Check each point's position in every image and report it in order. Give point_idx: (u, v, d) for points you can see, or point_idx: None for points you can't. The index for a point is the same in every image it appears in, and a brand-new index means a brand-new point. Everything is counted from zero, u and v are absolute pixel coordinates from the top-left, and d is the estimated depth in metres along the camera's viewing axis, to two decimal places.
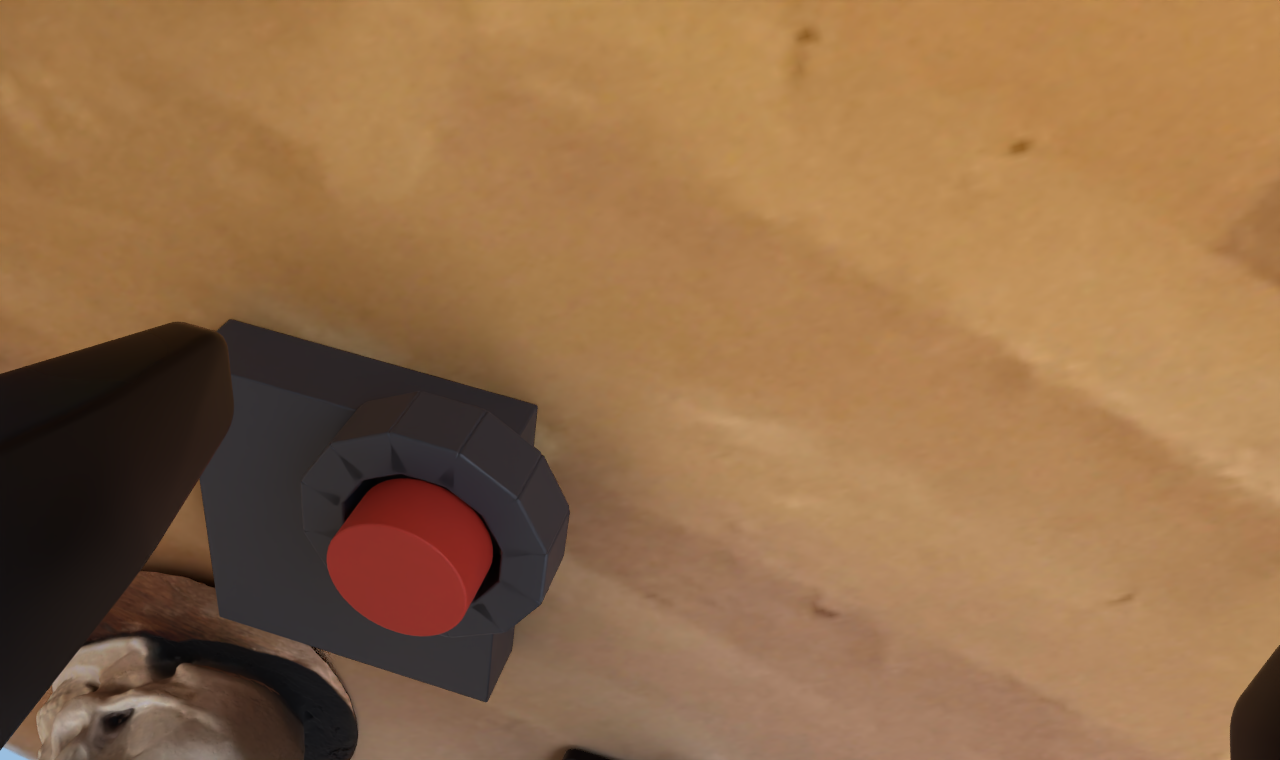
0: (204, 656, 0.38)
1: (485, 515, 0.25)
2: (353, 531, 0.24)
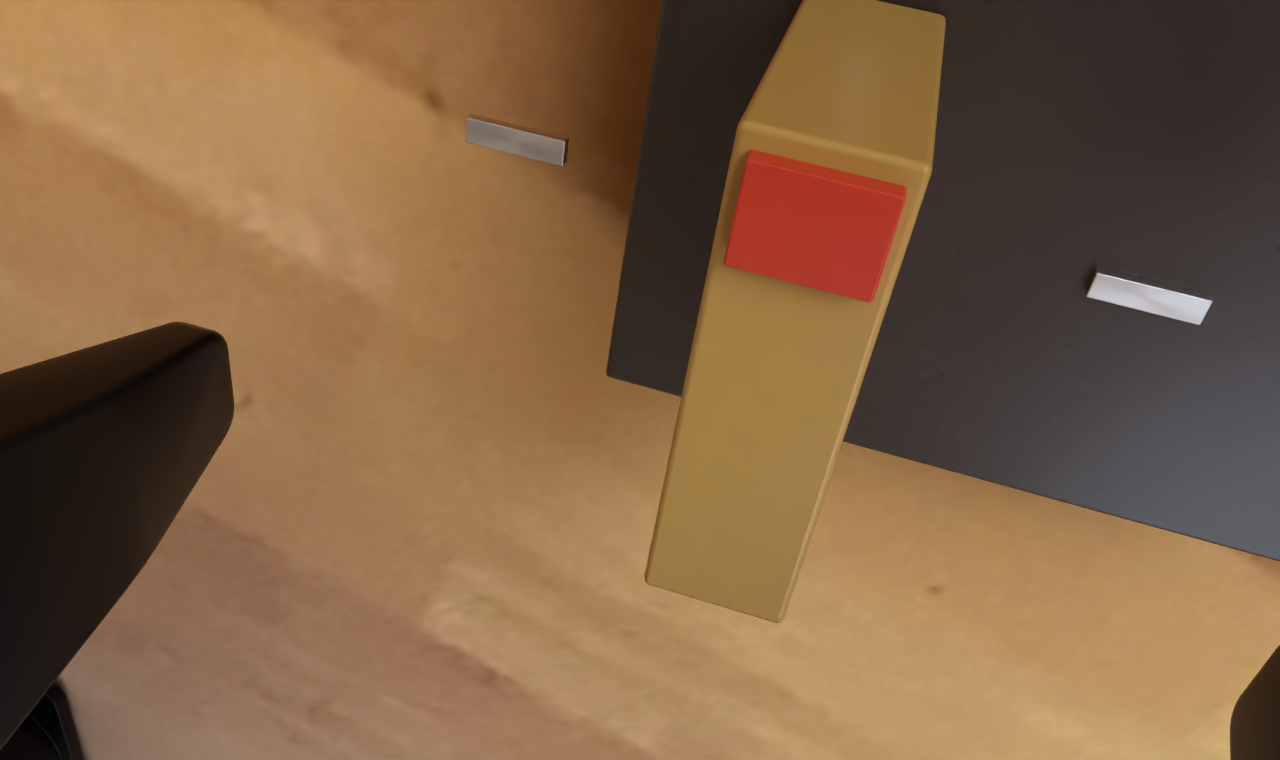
0: None
1: None
2: None
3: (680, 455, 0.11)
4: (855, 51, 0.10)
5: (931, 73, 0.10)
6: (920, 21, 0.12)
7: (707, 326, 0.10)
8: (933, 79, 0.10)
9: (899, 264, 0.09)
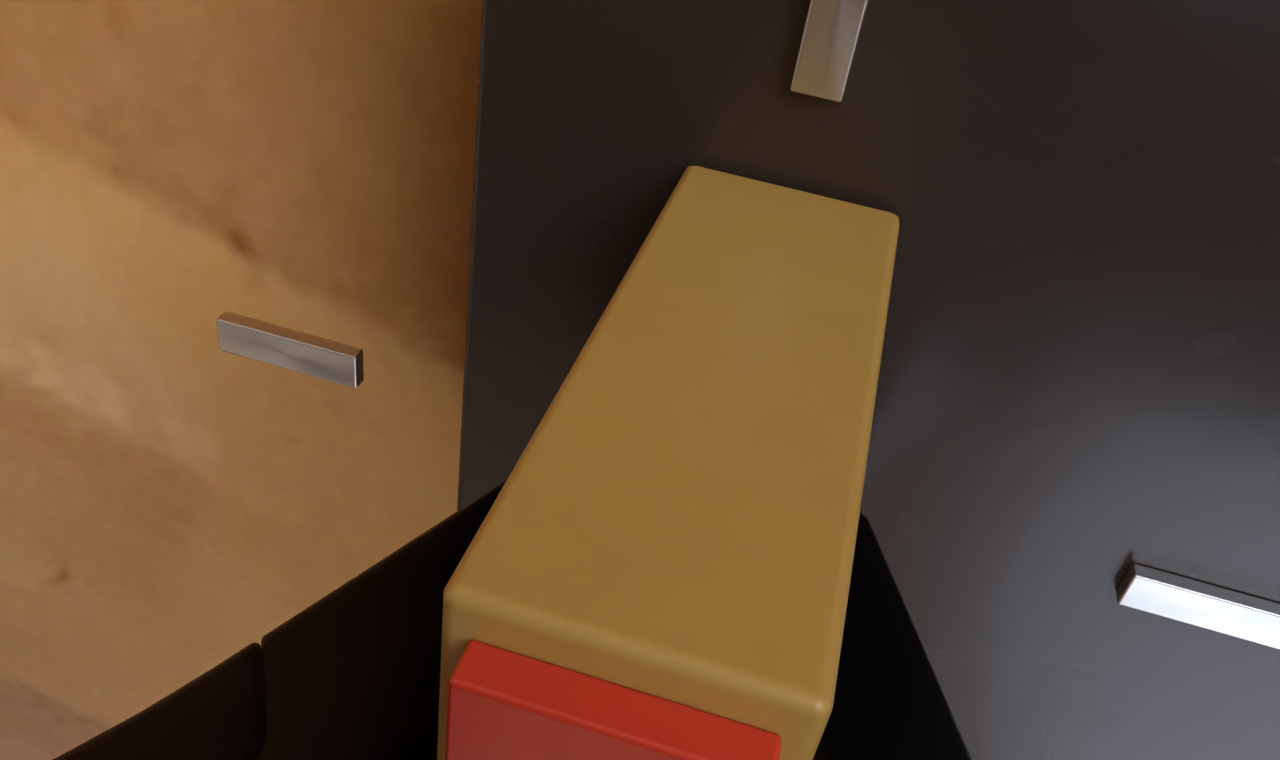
0: None
1: None
2: None
3: None
4: (733, 325, 0.06)
5: (861, 374, 0.06)
6: (856, 233, 0.07)
7: None
8: (863, 392, 0.06)
9: None
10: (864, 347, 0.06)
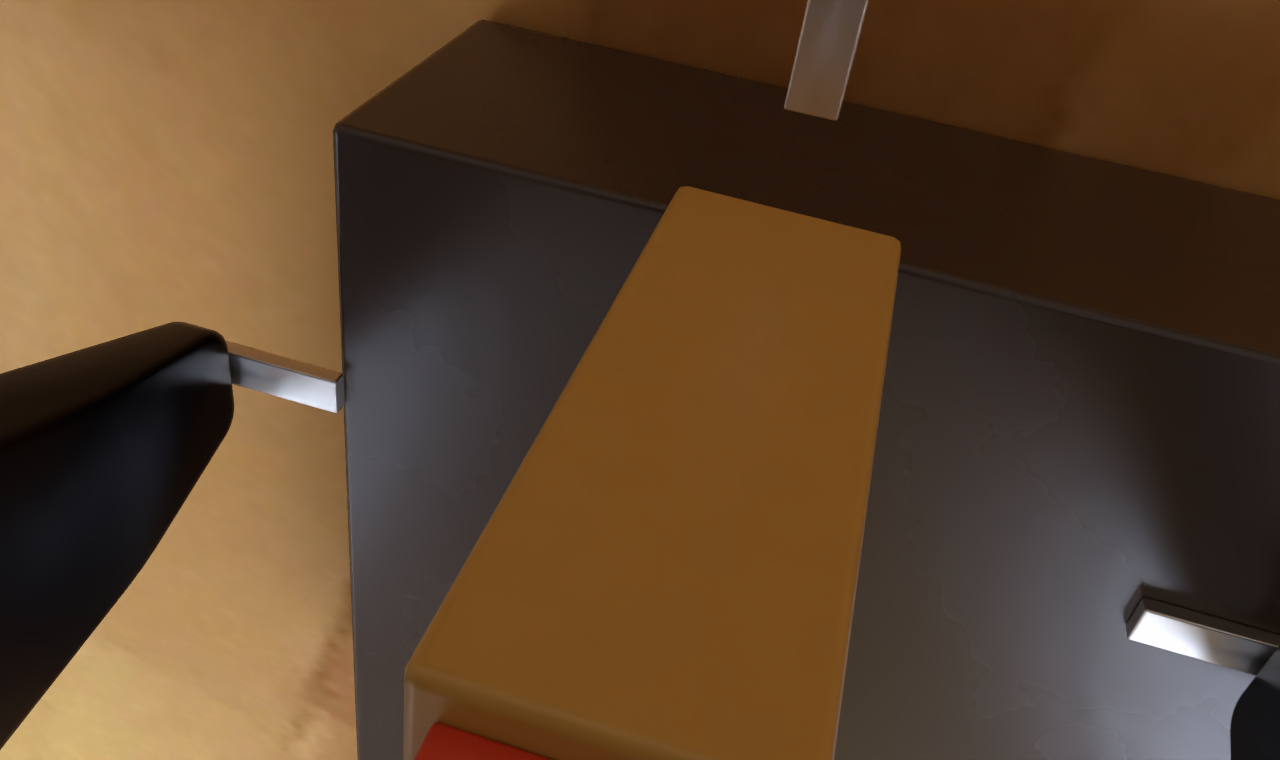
0: None
1: None
2: None
3: None
4: (724, 365, 0.06)
5: (860, 417, 0.05)
6: (856, 260, 0.07)
7: None
8: (862, 437, 0.05)
9: None
10: (864, 386, 0.06)
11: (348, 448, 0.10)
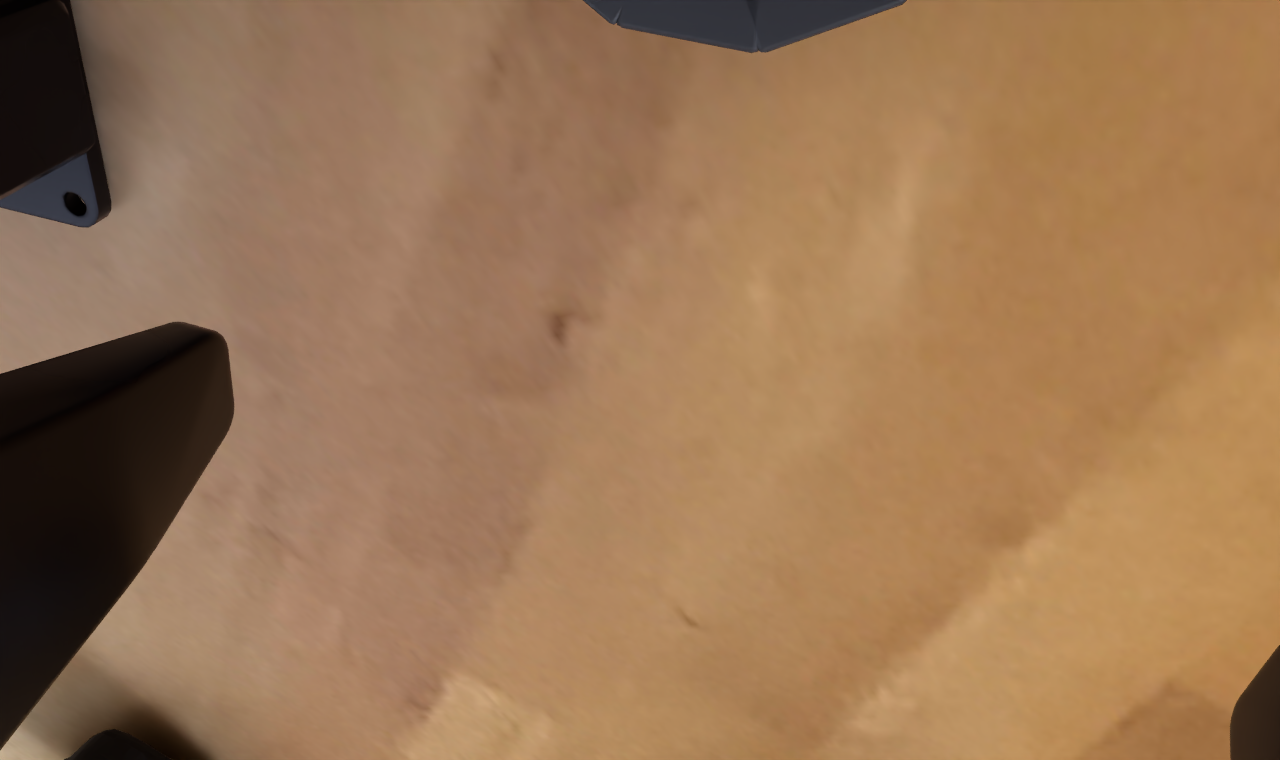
0: None
1: None
2: None
3: None
4: None
5: None
6: None
7: None
8: None
9: None
10: None
11: None
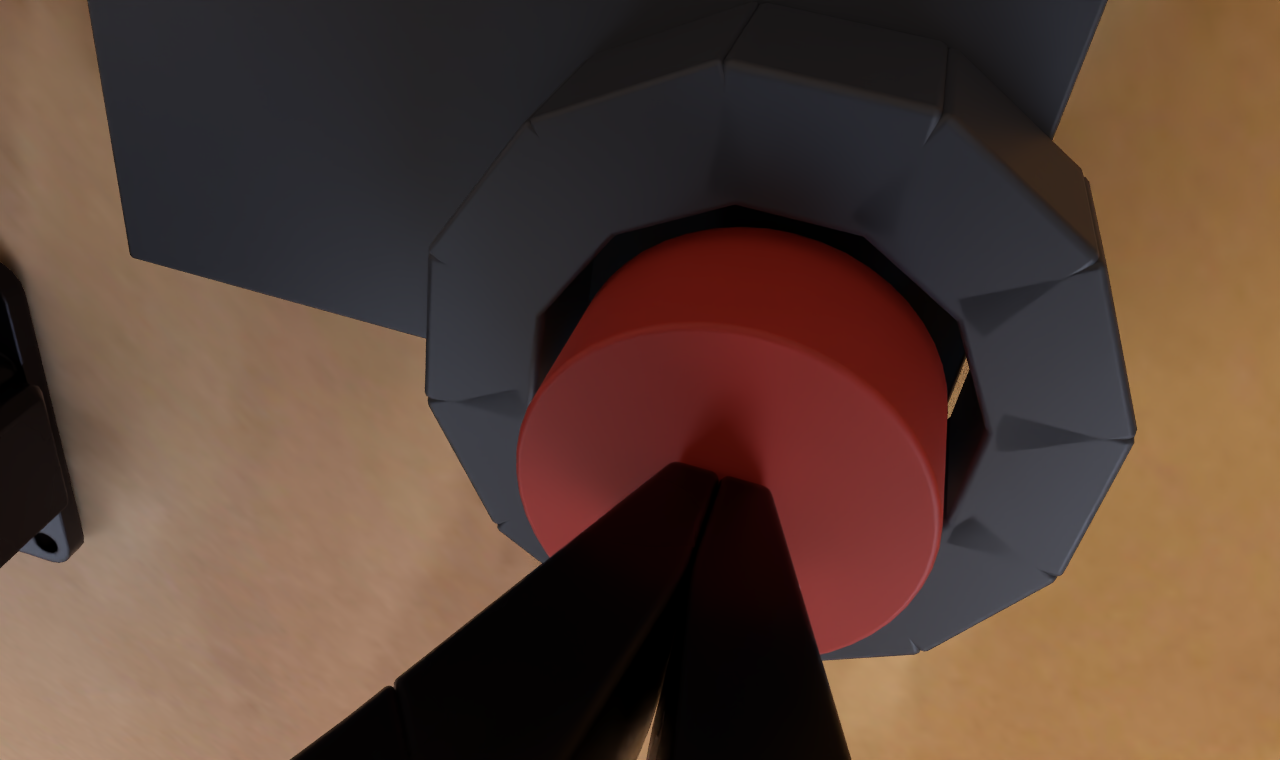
0: None
1: None
2: (905, 457, 0.08)
3: None
4: None
5: None
6: None
7: None
8: None
9: None
10: None
11: None
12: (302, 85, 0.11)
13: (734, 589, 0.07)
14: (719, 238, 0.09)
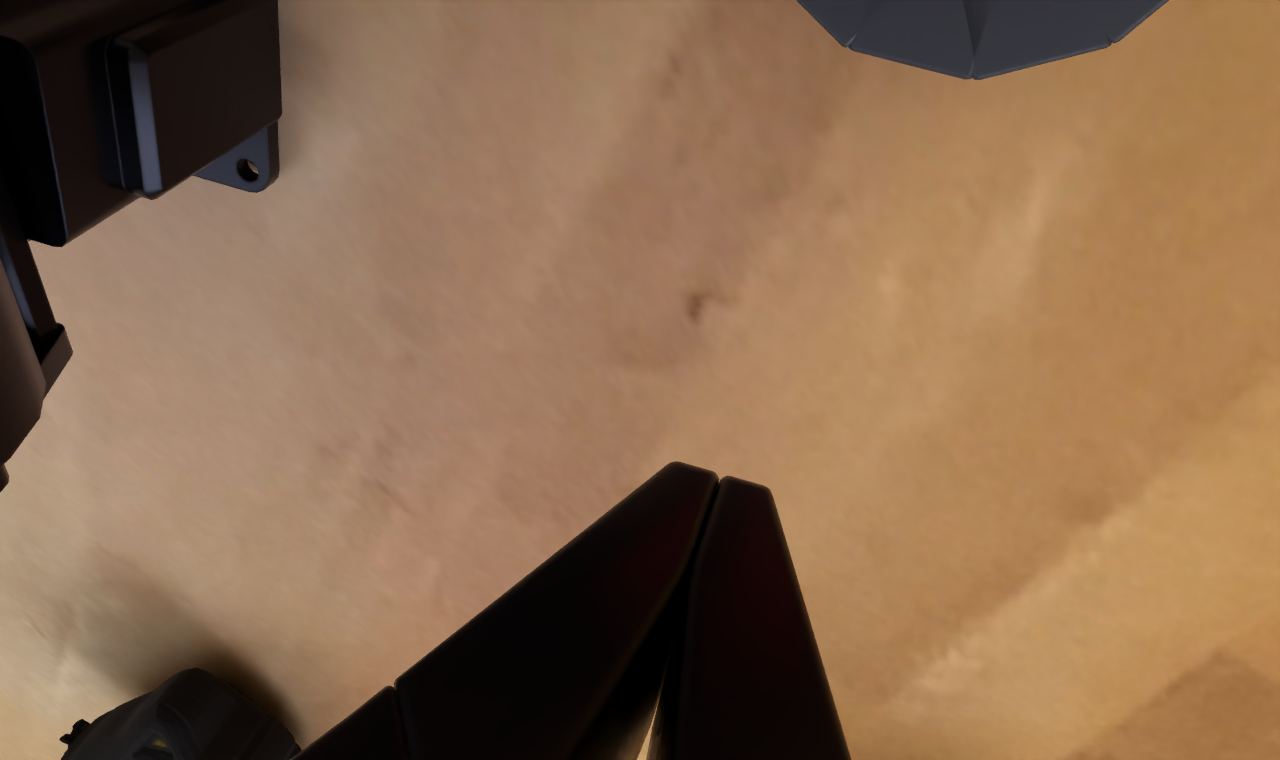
0: None
1: None
2: None
3: None
4: None
5: None
6: None
7: None
8: None
9: None
10: None
11: None
12: None
13: (734, 589, 0.07)
14: None
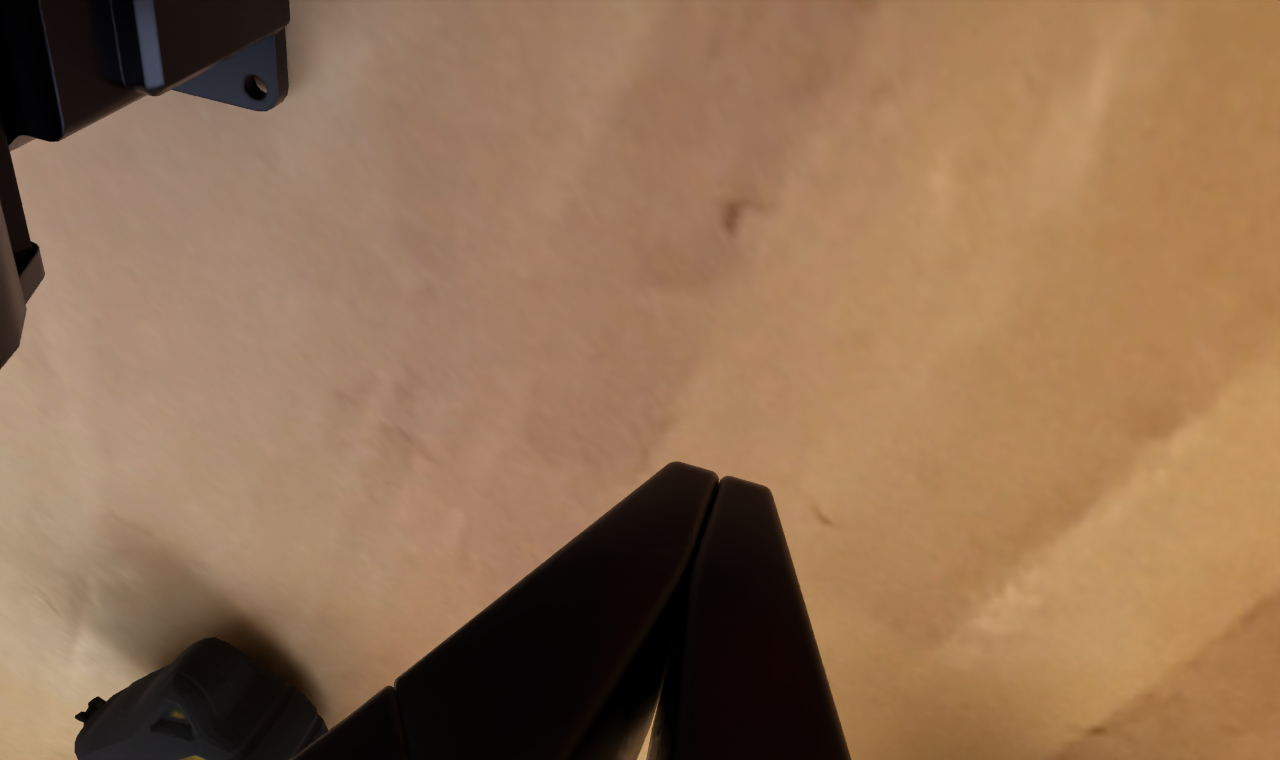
0: None
1: None
2: None
3: None
4: None
5: None
6: None
7: None
8: None
9: None
10: None
11: None
12: None
13: (734, 589, 0.07)
14: None
